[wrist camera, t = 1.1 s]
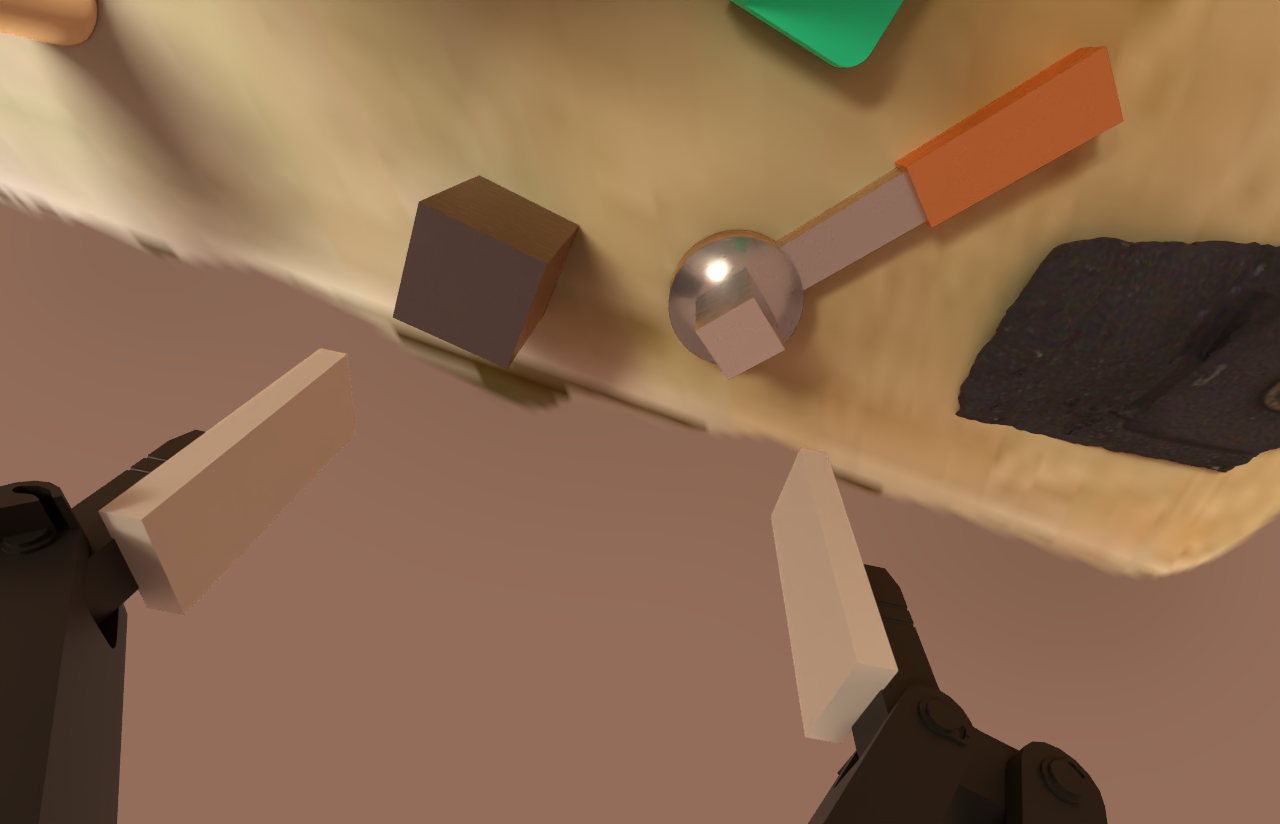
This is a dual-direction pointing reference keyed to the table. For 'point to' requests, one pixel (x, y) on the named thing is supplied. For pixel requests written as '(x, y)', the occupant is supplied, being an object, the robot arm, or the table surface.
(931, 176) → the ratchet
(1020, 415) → the dark slate chunk
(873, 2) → the camera mount
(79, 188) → the table surface
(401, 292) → the brushed brown cube
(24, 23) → the beer glass
